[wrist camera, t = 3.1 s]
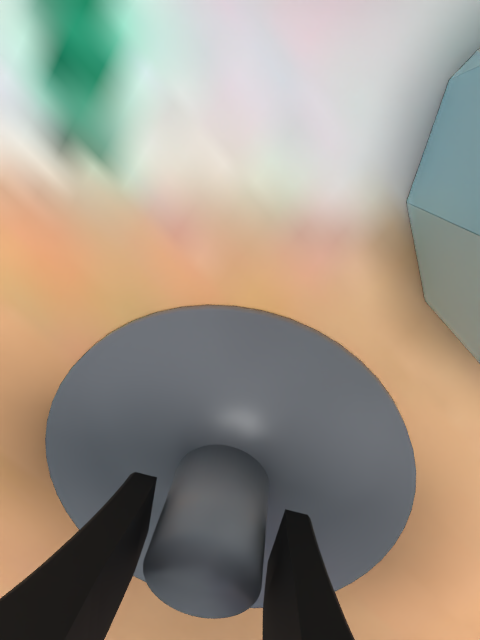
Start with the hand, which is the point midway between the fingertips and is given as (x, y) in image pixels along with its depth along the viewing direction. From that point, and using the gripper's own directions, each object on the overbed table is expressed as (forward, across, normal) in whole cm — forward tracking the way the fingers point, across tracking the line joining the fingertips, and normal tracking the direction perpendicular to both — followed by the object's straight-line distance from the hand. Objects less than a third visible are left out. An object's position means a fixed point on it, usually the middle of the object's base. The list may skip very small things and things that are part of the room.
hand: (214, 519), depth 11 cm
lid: (+2, 0, 0) cm, 2 cm away
